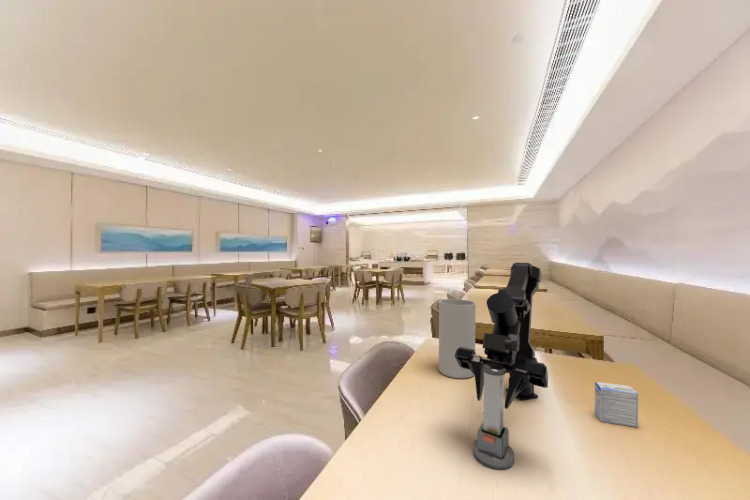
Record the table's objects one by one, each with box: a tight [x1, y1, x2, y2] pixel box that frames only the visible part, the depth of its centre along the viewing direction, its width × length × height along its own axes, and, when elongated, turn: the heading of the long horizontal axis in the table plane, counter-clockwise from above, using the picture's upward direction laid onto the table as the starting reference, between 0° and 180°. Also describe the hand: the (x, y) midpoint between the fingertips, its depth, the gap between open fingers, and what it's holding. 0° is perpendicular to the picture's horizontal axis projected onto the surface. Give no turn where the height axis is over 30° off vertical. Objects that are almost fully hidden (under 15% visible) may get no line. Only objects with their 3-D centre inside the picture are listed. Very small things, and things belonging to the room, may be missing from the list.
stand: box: [472, 422, 515, 471], centre depth 63 cm, size 8×8×6 cm
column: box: [482, 363, 507, 436], centre depth 63 cm, size 5×5×13 cm
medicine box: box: [594, 381, 639, 428], centre depth 77 cm, size 8×4×9 cm, turn 71°
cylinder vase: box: [438, 298, 477, 379], centre depth 107 cm, size 12×12×25 cm
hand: (491, 403), depth 62 cm, fingers open, 5 cm apart
